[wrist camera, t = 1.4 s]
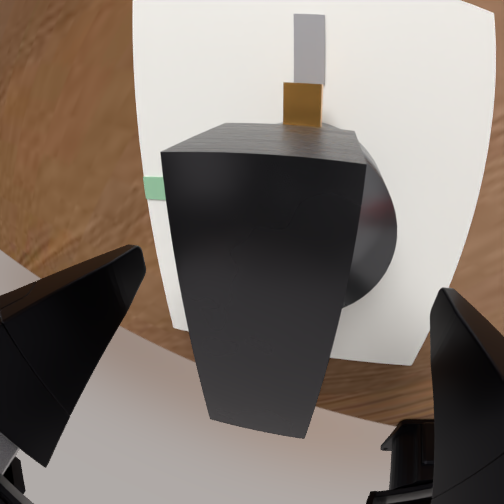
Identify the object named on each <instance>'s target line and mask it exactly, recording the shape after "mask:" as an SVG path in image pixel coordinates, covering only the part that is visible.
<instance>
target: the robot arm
mask: <svg viewBox="0 0 504 504" xmlns="http://www.w3.org/2000/svg"><path fill="white" fill-rule="evenodd" d="M145 273H146V266H145V262H144V257H143V253H142V249H141V248H140V247H139V246H136V245H126V246H123V247H120V248H118V249H115V250H113V251H110V252H107V253H105V254H102V255H99V256H97V257H94V258H92V259H89V260H87V261H84V262H82V263H79V264H77V265H74V266H72V267H69V268H67V269H64V270H62V271H59V272H57V273H54V274H52V275H50V276H47V277H45V278H42V279H40V280H38V281H37V282H36V281H35V282H33V283H30V284H28V285H26V286H23V287H21V288H18V289H16V290H14V291H11V292H9V293H6V294H4V295H1V296H0V504H34V503H32V502H31V501H30V500H29V499H28V498H26V497H25V496H24V495H23V494H24V492H25V485H24V480H23V474H22V469H21V461H20V460H19V459H18V458H17V457H16V454H17V452H18V451H19V449H21V450H22V451H23V452H25V453H26V454H27V455H29V456H30V457H31V458H33V459H34V460H35V461H37V462H38V463H40V464H41V465H42V466H44V467H47V465H48V463H49V461H50V459H51V456H52V454H53V452H54V450H55V447H56V445H57V443H58V441H59V439H60V436H61V435H62V432H63V430H64V428H65V426H66V424H67V422H68V420H69V418H70V415H71V414H72V412H73V410H74V407H75V406H76V404H77V402H78V399H79V398H80V396H81V394H82V392H83V390H84V388H85V386H86V384H87V382H88V381H89V379H90V377H91V375H92V373H93V371H94V369H95V367H96V366H97V364H98V362H99V360H100V358H101V357H102V355H103V353H104V351H105V349H106V347H107V346H108V344H109V342H110V341H111V339H112V337H113V335H114V334H115V332H116V330H117V329H118V327H119V325H120V323H121V322H122V320H123V318H124V317H125V315H126V313H127V311H128V309H129V307H130V305H131V303H132V301H133V299H134V297H135V295H136V292H137V290H138V288H139V286H140V284H141V282H142V280H143V278H144V276H145ZM430 346H431V373H432V385H433V400H434V420H404V421H401V422H400V423H399V425H398V426H397V427H396V428H395V430H394V431H393V432H392V433H391V435H390V436H389V437H388V438H387V439H386V440H385V442H384V443H383V444H382V445H381V450H383V451H392V454H391V473H390V485H389V490H386V491H378V492H377V491H371V492H370V495H369V496H368V499H367V502H366V504H504V337H503V335H502V334H501V333H500V332H499V331H498V330H497V329H496V328H495V327H494V326H493V325H492V324H491V323H490V322H489V321H488V320H487V319H486V318H485V317H484V316H482V315H481V314H480V313H479V312H478V311H477V310H476V309H475V308H474V307H473V306H472V305H471V304H470V303H469V302H468V301H467V300H466V299H465V298H463V297H462V296H461V295H460V294H459V293H458V292H457V291H456V290H455V289H453V288H445V287H442V288H440V290H439V291H438V294H437V296H436V299H435V301H434V303H433V306H432V308H431V311H430Z"/></svg>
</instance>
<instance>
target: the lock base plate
mask: <svg viewBox="0 0 504 504" xmlns="http://www.w3.org/2000/svg"><path fill="white" fill-rule="evenodd" d="M133 59H134V80H135V96H136V108H137V120H138V130H139V140H140V149H141V157H142V165H143V173H144V177H143V181H144V188H145V194H146V199H147V200H148V206H149V212H150V218H151V224H152V230H153V235H154V241H155V246H156V251H157V256H158V261H159V266H160V271H161V276H162V280H163V285H164V289H165V294H166V298H167V302H168V307H169V311H170V315H171V319H172V323H173V327H174V328H176V329H181V330H185V331H189V330H188V326H187V321H186V316H185V311H184V306H183V301H182V296H181V291H180V285H179V280H178V274H177V269H176V263H175V257H174V251H173V245H172V239H171V232H170V226H169V219H168V212H167V204H166V197H165V189H164V181H163V173H162V164H161V154H160V152H161V151H163V150H165V149H168V148H170V147H172V146H174V145H176V144H178V143H180V142H182V141H185V140H187V139H189V138H191V137H193V136H196V135H198V134H200V133H202V132H205V131H207V130H209V129H212V128H214V127H217V126H219V125H221V124H224V123H264V124H277V123H280V122H283V82H291V83H310V84H323V109H322V122H323V123H326V124H330V125H332V126H335V127H337V128H339V129H343V130H351V131H355V133H356V136H357V139H358V141H359V142H360V143H361V144H362V145H363V146H364V148H365V149H366V150H367V151H368V152H369V153H370V155H371V156H372V158H373V159H374V161H375V163H376V165H377V167H378V169H379V171H380V173H381V175H382V178H383V180H384V182H385V185H386V187H387V189H388V192H389V194H390V196H391V199H392V202H393V205H394V209H395V212H396V219H397V242H396V247H395V252H394V255H393V258H392V261H391V263H390V265H389V267H388V269H387V271H386V273H385V274H384V276H383V277H382V279H381V280H380V281H379V283H378V284H377V285H376V286H375V287H374V288H373V289H372V290H371V291H370V292H369V293H367V294H366V295H365V296H364V297H362V298H361V299H359V300H358V301H356V302H354V303H353V304H351V305H349V306H346V307H344V308H342V311H341V315H340V319H339V323H338V327H337V331H336V335H335V339H334V343H333V347H332V351H331V354H330V358H337V359H346V360H354V361H363V362H373V363H384V364H396V365H409V366H411V365H412V363H413V362H414V360H415V358H416V356H417V354H418V352H419V350H420V348H421V346H422V345H423V343H424V341H425V339H426V337H427V335H428V333H429V330H430V311H431V308H432V306H433V303H434V301H435V299H436V296H437V294H438V291H439V290H440V288H442V287H445V288H449V285H450V283H451V280H452V278H453V275H454V272H455V270H456V267H457V264H458V262H459V259H460V256H461V253H462V250H463V247H464V244H465V241H466V238H467V235H468V231H469V228H470V225H471V221H472V218H473V214H474V211H475V207H476V203H477V199H478V195H479V191H480V187H481V182H482V178H483V173H484V168H485V163H486V158H487V152H488V146H489V140H490V133H491V125H492V117H493V107H494V95H495V76H496V39H495V21H494V13H492V12H489V11H487V10H485V9H482V8H480V7H477V6H474V5H472V4H469V3H466V2H464V1H461V0H133Z"/></svg>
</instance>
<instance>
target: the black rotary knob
mask: <svg viewBox="0 0 504 504" xmlns="http://www.w3.org/2000/svg"><path fill="white" fill-rule="evenodd" d="M322 109H323V84H310V83H291V82H283V122H280V123H277V124H264V123H224V124H221V125H219V126H217V127H214V128H212V129H209V130H207V131H205V132H202V133H200V134H198V135H196V136H193V137H191V138H189V139H187V140H185V141H182V142H180V143H178V144H176V145H174V146H172V147H170V148H168V149H165V150H163V151H161V152H160V154H161V164H162V173H163V181H164V189H165V197H166V204H167V212H168V219H169V226H170V232H171V239H172V245H173V251H174V257H175V263H176V269H177V274H178V280H179V285H180V291H181V296H182V301H183V306H184V311H185V316H186V321H187V326H188V330H189V335H190V339H191V344H192V348H193V353H194V357H195V361H196V366H197V370H198V374H199V378H200V382H201V386H202V390H203V394H204V398H205V401H206V405H207V409H208V413H209V416H210V419H212V420H216V421H219V422H223V423H227V424H231V425H236V426H239V427H244V428H249V429H253V430H257V431H263V432H267V433H273V434H278V435H283V436H289V437H295V438H302V439H304V438H305V435H306V433H307V430H308V427H309V424H310V421H311V418H312V415H313V412H314V409H315V406H316V402H317V399H318V396H319V393H320V389H321V386H322V383H323V379H324V376H325V372H326V369H327V365H328V362H329V358H330V354H331V351H332V347H333V343H334V339H335V335H336V331H337V327H338V323H339V319H340V315H341V311H342V308H344V307H346V306H349V305H351V304H353V303H354V302H356V301H358V300H359V299H361V298H362V297H364V296H365V295H366V294H367V293H369V292H370V291H371V290H372V289H373V288H374V287H375V286H376V285H377V284H378V283H379V281H380V280H381V279H382V277H383V276H384V274H385V273H386V271H387V269H388V267H389V265H390V263H391V261H392V258H393V255H394V252H395V247H396V242H397V219H396V212H395V209H394V205H393V202H392V199H391V196H390V194H389V192H388V189H387V187H386V185H385V182H384V180H383V178H382V175H381V173H380V171H379V169H378V167H377V165H376V163H375V161H374V159H373V158H372V156H371V155H370V153H369V152H368V151H367V150H366V149H365V148H364V146H363V145H362V144H361V143H360V142H359V141H358V139H357V136H356V133H355V131H351V130H343V129H339V128H337V127H335V126H332V125H330V124H326V123H323V122H322Z"/></svg>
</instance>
